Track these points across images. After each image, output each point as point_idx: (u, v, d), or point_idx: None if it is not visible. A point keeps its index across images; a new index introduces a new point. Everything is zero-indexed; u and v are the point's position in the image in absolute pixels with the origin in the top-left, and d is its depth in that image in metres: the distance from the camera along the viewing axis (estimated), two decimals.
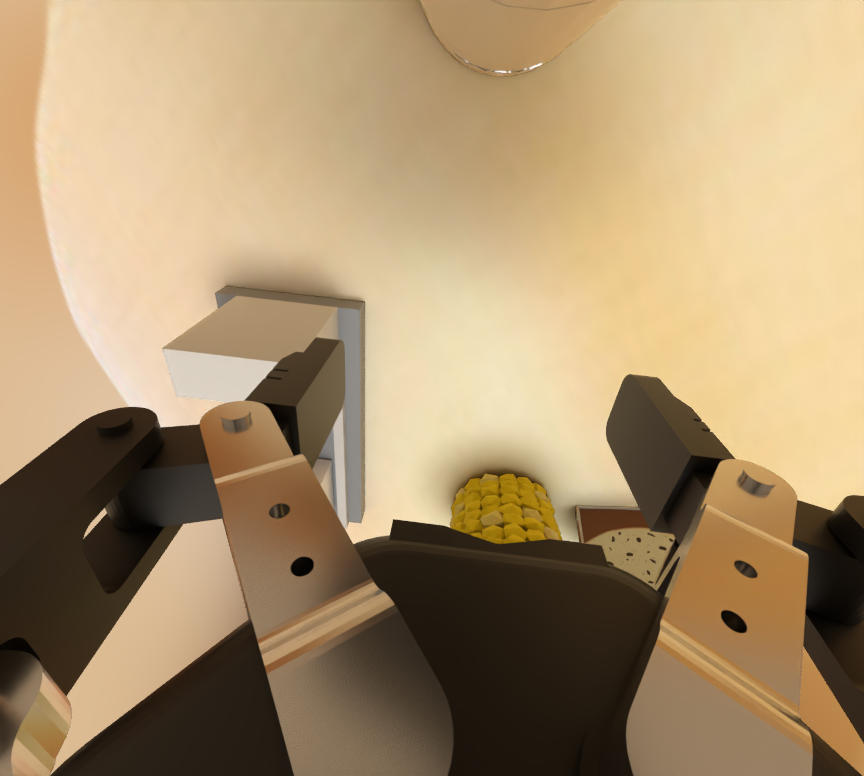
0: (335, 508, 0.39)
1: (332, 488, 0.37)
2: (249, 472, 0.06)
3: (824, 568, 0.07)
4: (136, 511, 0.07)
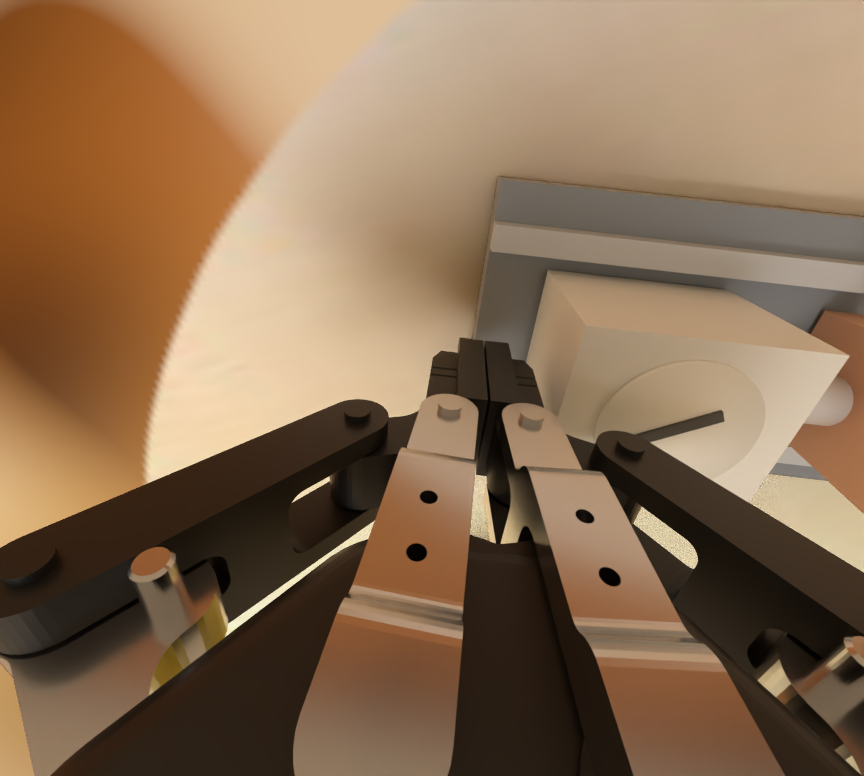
0: None
1: None
2: (426, 454, 0.06)
3: None
4: (345, 492, 0.08)
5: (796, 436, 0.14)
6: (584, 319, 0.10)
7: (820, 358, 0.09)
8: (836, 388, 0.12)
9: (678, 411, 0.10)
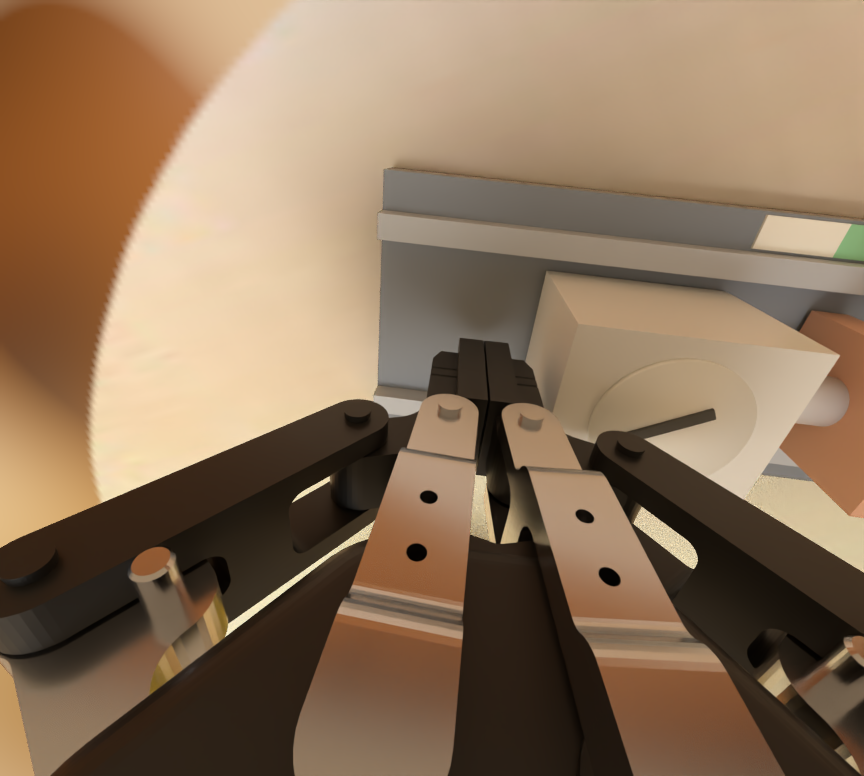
0: (418, 381, 0.17)
1: None
2: (427, 454, 0.06)
3: None
4: (345, 492, 0.08)
5: None
6: (577, 318, 0.10)
7: (811, 357, 0.09)
8: (832, 388, 0.12)
9: (670, 409, 0.10)
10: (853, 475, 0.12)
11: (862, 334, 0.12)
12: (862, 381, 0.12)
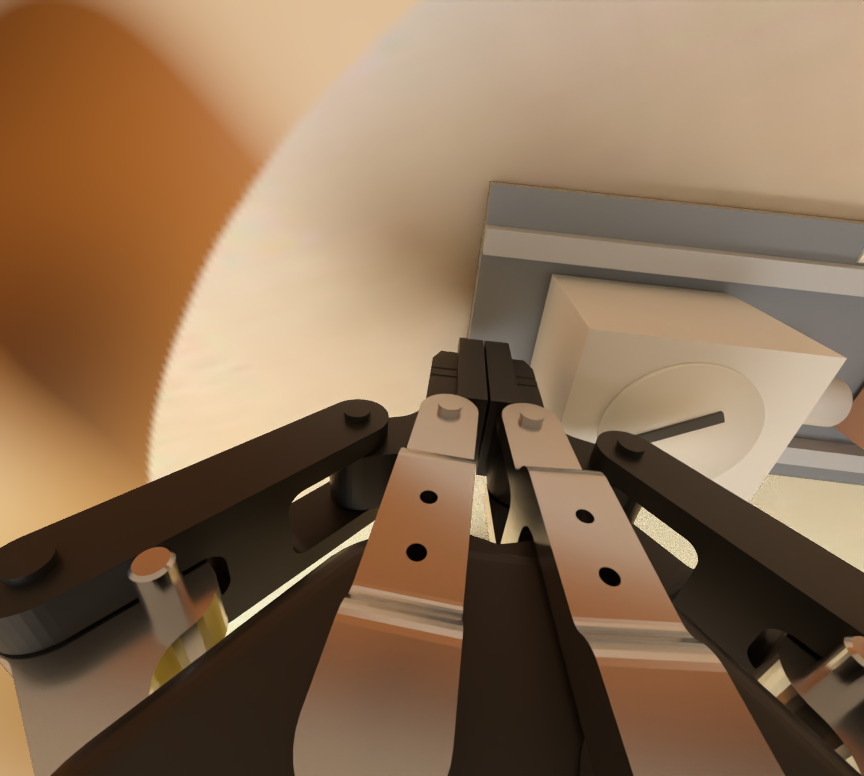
0: None
1: None
2: (426, 454, 0.06)
3: None
4: (344, 492, 0.08)
5: None
6: (588, 323, 0.10)
7: (818, 360, 0.10)
8: (835, 389, 0.12)
9: (679, 412, 0.10)
10: None
11: None
12: None
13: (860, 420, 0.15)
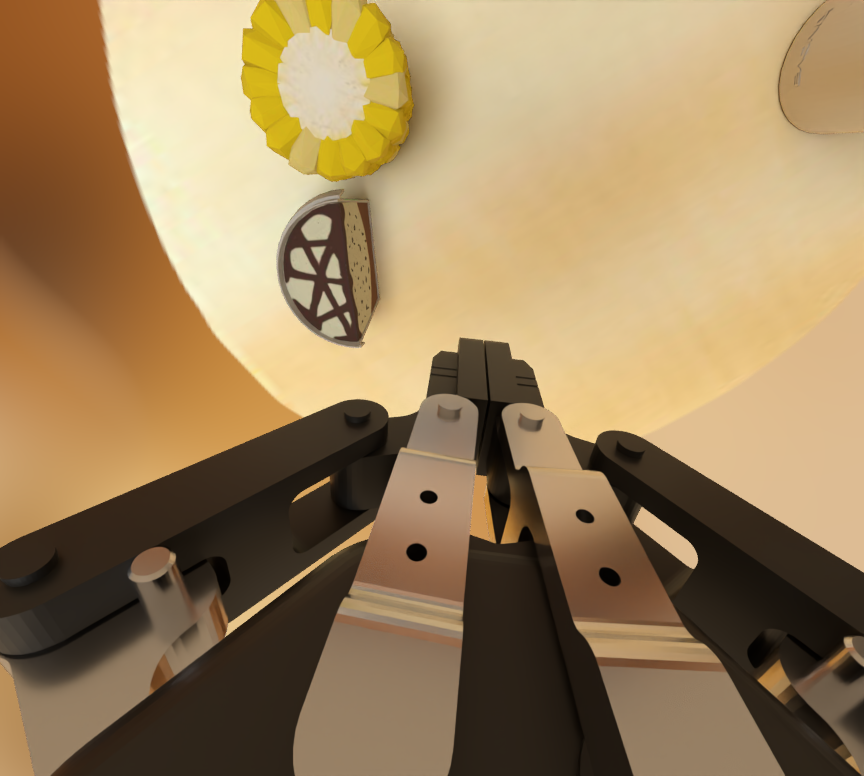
0: None
1: None
2: (426, 454, 0.06)
3: None
4: (345, 492, 0.08)
5: None
6: None
7: None
8: None
9: None
10: None
11: None
12: None
13: None
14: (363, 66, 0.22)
